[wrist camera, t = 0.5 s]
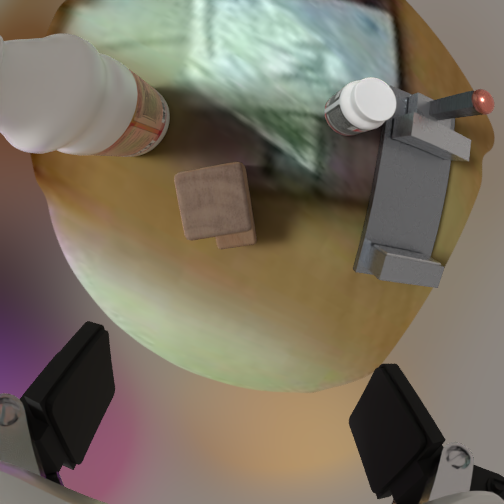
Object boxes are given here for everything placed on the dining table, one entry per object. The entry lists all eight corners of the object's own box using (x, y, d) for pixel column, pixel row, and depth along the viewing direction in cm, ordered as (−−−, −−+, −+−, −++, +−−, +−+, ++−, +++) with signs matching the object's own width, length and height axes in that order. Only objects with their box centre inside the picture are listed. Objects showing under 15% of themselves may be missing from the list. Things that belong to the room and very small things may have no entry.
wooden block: (256, 235, 37) (264, 296, 19) (221, 240, 37) (199, 305, 19) (245, 164, 34) (243, 160, 17) (208, 170, 34) (171, 173, 17)
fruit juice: (145, 170, 34) (-42, 196, 7) (94, 137, 32) (-85, 129, 5) (186, 107, 32) (51, -6, 5) (131, 77, 30) (-20, -12, 3)
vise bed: (386, 87, 31) (408, 76, 25) (450, 116, 32) (475, 113, 26) (352, 268, 38) (369, 286, 32) (418, 279, 39) (440, 295, 33)
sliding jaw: (397, 90, 30) (458, 66, 17) (451, 116, 30) (516, 108, 17) (391, 138, 32) (457, 130, 19) (447, 160, 32) (514, 165, 19)
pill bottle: (366, 137, 33) (403, 129, 24) (324, 135, 33) (352, 125, 24) (362, 96, 31) (397, 76, 22) (321, 93, 31) (346, 69, 22)
